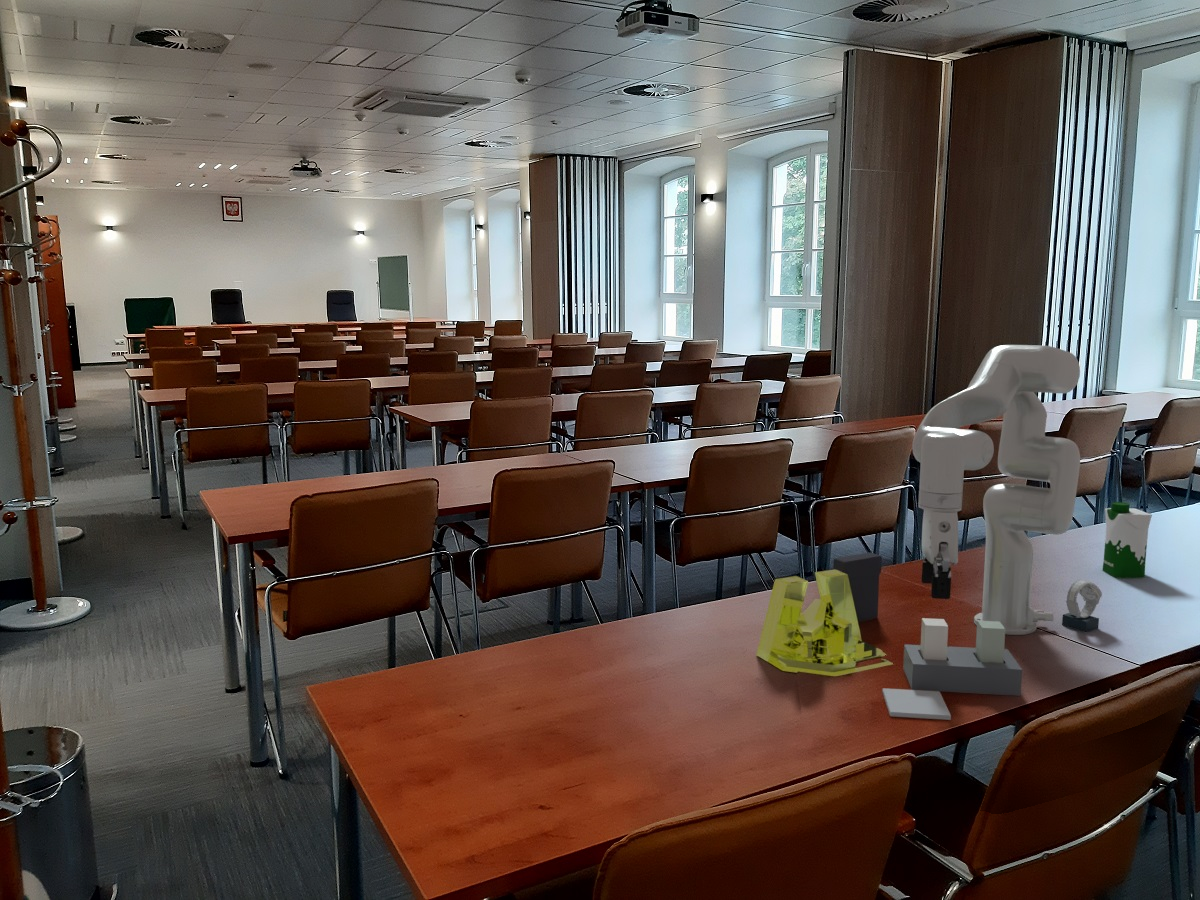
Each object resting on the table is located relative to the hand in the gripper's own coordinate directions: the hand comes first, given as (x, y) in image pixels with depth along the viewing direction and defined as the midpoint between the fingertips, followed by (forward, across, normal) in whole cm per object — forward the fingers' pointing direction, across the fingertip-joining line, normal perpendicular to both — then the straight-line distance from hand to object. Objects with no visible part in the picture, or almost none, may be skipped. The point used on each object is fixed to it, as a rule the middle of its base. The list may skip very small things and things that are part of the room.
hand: (935, 590), depth 170 cm
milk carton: (+16, +74, -60) cm, 97 cm away
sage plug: (+16, +1, -10) cm, 19 cm away
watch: (+17, +33, -37) cm, 53 cm away
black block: (+18, +33, +10) cm, 39 cm away
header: (+18, +1, -6) cm, 19 cm away
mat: (+18, -11, +4) cm, 22 cm away
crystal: (+18, +10, +18) cm, 28 cm away
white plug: (+16, +1, 0) cm, 16 cm away
